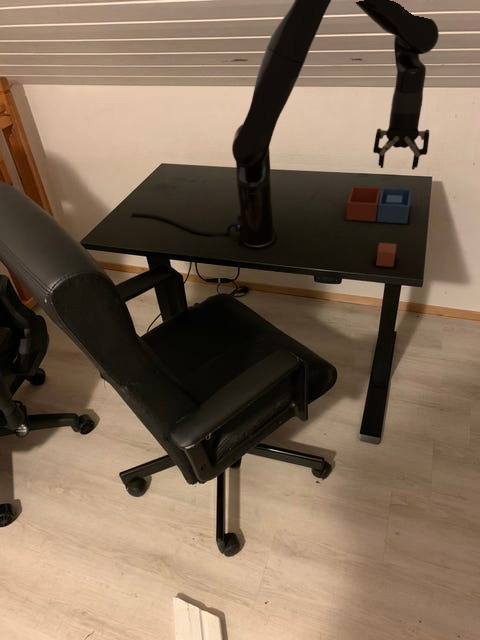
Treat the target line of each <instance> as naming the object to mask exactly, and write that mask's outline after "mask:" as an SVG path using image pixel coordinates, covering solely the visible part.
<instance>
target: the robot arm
mask: <svg viewBox="0 0 480 640" xmlns="http://www.w3.org/2000/svg"><path fill="white" fill-rule="evenodd" d="M331 2H332V0H294V1H293V2H292V5H291V6H290V8H289V9H288V11H287V13H285V15H284V17H283V18H282V19H281V20H280V22H279V23H278V24H277V26H276V27H275V29H274V30H273V32H272V34H271V36H270V38H269V40H268V43H267V45H266V48H265V51H264V53H263V57H262V59H261V62H260V66H259V69H258V72H257V77H256V80H255V83H254V88H253V93H252V98H251V101H250V106H249V108H248V111H247V113H246V117H245V119H244V120H243V123H242V124H241V125H239V126H238V127H237V128H236V131H235V132H234V136H233V140H232V143H231V151H232V157H233V158H234V161H235V166H236V168H235V169H236V170H235V171H236V179H235V180H236V188H237V197H238V206H239V212H238V214H237V218H236V220H235V221H234V222H233V223H231V224H229V225H228V226H227V227H226V232H222V233H216V232H209V231H202V230H198V229H194V228H191V227H190V226H186V225H184V224H181V223H179V222H177V221H174V220H172V219H170V218H167V217H164V216H160V215H156V214H149V213H135V212H131V213H132V214H131V215H132V216H133V217H145V218H153V219H158V220H161V221H164V222H167V223H170V224H173V225H175V226H177V227H179V228H182V229H184V230H187V231H189V232H192V233H194V234H198V235H204V236H209V237H210V236H211V237H219V236H222V237H223V236H224V237H225V236H227V235H229V234H230V233H231V229H232V228H233V227H234V232H235V233H239V239H240V244H241V245H244V246H246V247H248V248H251V249H261V248H265V247H268V246H270V245H272V244H273V243H274V241H275V228H274V216H273V199H272V183H271V156H270V146H271V141H272V138H273V135H274V131H275V129H276V125H277V123H278V121H279V118H280V116H281V114H282V112H283V110H284V108H285V107H286V105H287V102H288V100H289V98H290V96H291V94H292V93H293V90H294V88H295V85H296V84H297V82H298V79H299V77H300V75H301V72H302V70H303V68H304V65H305V63H306V61H307V58H308V55H309V52H310V50H311V47H312V45H313V43H314V40H315V38H316V35H317V34H318V31H319V28H320V26H321V23H322V21H323V19H324V16H325V15H326V12H327V10H328V8H329V5H330V4H331ZM355 5H356V6H357V7H358V8H359V9H360V10H361V11H362V12H363V13H364V14H365V15H367V17H368V18H370V19H371V21H373V22H374V23H375V24H376V25H377V26H378V27H380V28H381V29H382V30H383V31H385V32H386V33H388V34H390V35H393V36H394V38H393V39H394V41H393V48H394V61H395V69H396V75H395V82H394V89H393V94H392V97H391V98H392V99H391V104H390V106H391V107H390V114H389V121H388V128H387V130H385V129H384V130H383V129H381V128H376V133H375V138H374V143H373V149H372V152H373V154H378V167H380V169H383V168H384V166H385V165H384V163H385V156H386V154H387V152H388V151H389V150H391V148H392V147H394V149H396V148H397V149H399V148H403V149H407V148H408V147H409V149H410V151H411V152H412V153H413V159H412V166H411V170H415V168H418V165H419V161H420V157H421V156H426V155H427V154H428V150H429V141H430V130H429V129H425V130H419V124H420V118H421V111H422V107H423V99H424V95H423V94H424V87H425V86H424V85H425V80H426V73H427V67H426V65H425V64H424V63H423V62H422V60H420V55H425V54H427V53H430V51H432V50H433V49H434V48H435V46H436V45H437V44H438V41H439V36H440V33H439V28H438V25H437V23H436V22H435V20H433V18H431V19H428V18H424V17H419V16H414V15H412V14H411V13H409V12H408V11H407V10H405V9H404V7H402V6H401V5H400V4H398V3H396V2H394V1H390V0H364V1H359V2H356V3H355ZM384 136H386V138H387V141H386V142H385V143H384V145H383V146H382V147H380V141H381V140H382V139H383V138H384ZM419 137H420V140H422V141H423V143H422V148H419V146H418V145H417V143H416V140H417V139H418V138H419Z"/></svg>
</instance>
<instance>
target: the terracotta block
mask: <svg viewBox="0 0 480 640" xmlns="http://www.w3.org/2000/svg"><path fill="white" fill-rule="evenodd" d="M396 251H397V243H389V242H378V247H377V255H376V256H377V257H376V263H375V266H377V267H389V268H394V266H395V259H396Z"/></svg>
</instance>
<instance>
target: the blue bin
mask: <svg viewBox="0 0 480 640" xmlns="http://www.w3.org/2000/svg"><path fill="white" fill-rule="evenodd" d="M387 195H398V196H402V204H401V205H391V204H386V200H387ZM411 195H412V188H395V187H381V192H380V200H379V204H378V212H377V217H376V222H377V223H393V224H404V225H405V224H408V219H409V213H410V208H411V198H412V196H411Z"/></svg>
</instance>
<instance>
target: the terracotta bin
mask: <svg viewBox="0 0 480 640" xmlns="http://www.w3.org/2000/svg"><path fill="white" fill-rule="evenodd" d="M381 190H382V187H378V186H377V187H374V186H353V185H352V187H351V190H350V193H349V197H348V199H347V203H346V219H345V220H346V221H362V222H377V213H378V204H379V200H380V195H381Z"/></svg>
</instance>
